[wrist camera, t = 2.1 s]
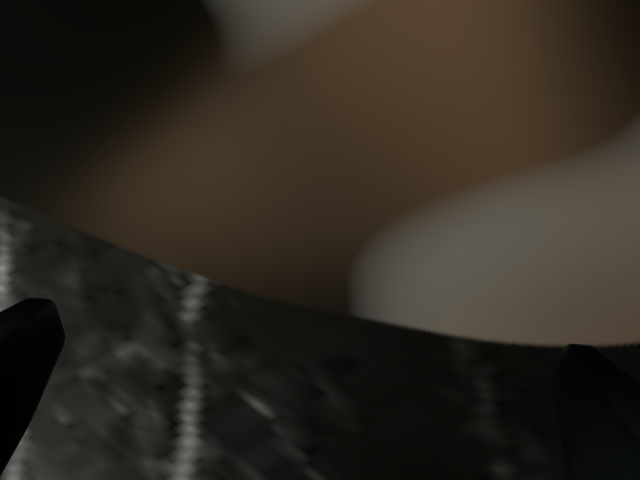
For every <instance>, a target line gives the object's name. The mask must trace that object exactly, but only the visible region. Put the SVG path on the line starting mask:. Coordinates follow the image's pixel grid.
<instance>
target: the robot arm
mask: <svg viewBox="0 0 640 480" xmlns="http://www.w3.org/2000/svg"><path fill="white" fill-rule="evenodd" d="M64 341H65V333H64V329H63V326H62V323H61V320H60V317H59V314H58V310H57V307H56V305H55V303H54V302H53V301H52V300H50V299H42V298H27V299H25V300H23V301H21V302H19V303H17V304H15V305H13V306H11V307H9V308H7V309H5V310H3V311H2V312H0V476H1V474H2V473H3V471H4V469H5V467H6V465H7V464H8V462H9V460H10V458H11V456H12V455H13V453H14V451H15V449H16V447H17V446H18V444H19V442H20V440H21V439H22V437H23V435H24V433H25V431H26V429H27V427H28V425H29V424H30V422H31V420H32V417H33V415H34V413H35V411H36V409H37V407H38V404H39V402H40V400H41V397H42V395H43V393H44V390H45V388H46V386H47V383H48V381H49V379H50V376H51V374H52V372H53V369H54V367H55V365H56V362H57V360H58V357H59V355H60V353H61V350H62V348H63V345H64ZM552 394H553V399H554V405H555V410H556V416H557V421H558V427H559V433H560V438H561V444H562V449H563V455H564V460H565V465H566V470H567V475H568V479H569V480H640V385H639V384H638V383H637V382H636V381H635V380H633V379H632V378H631V377H630V376H629V375H628V374H626V373H625V372H624V371H623V370H622V369H620V368H619V367H618V366H617V365H616V364H614V363H613V362H612V361H611V360H610V359H609V358H607V357H606V356H605V355H604V354H603V353H601V352H600V351H599V350H598V349H597V348H595V347H593V346H590V345H580V344H569V345H567V346H566V347H565V348H564V350H563V352H562V355H561V357H560V360H559V362H558V365H557V367H556V370H555V372H554V375H553V378H552Z"/></svg>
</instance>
